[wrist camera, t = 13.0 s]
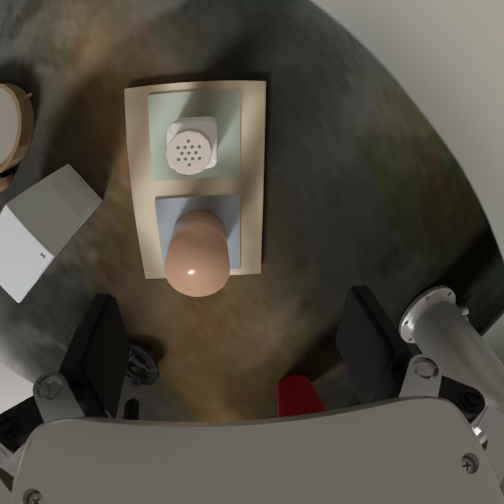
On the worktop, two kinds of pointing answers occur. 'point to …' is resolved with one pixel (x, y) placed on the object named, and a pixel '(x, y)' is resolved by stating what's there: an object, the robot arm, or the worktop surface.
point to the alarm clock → (14, 128)
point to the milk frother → (139, 377)
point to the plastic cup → (297, 397)
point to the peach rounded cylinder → (198, 254)
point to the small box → (41, 227)
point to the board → (208, 180)
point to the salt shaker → (192, 144)
